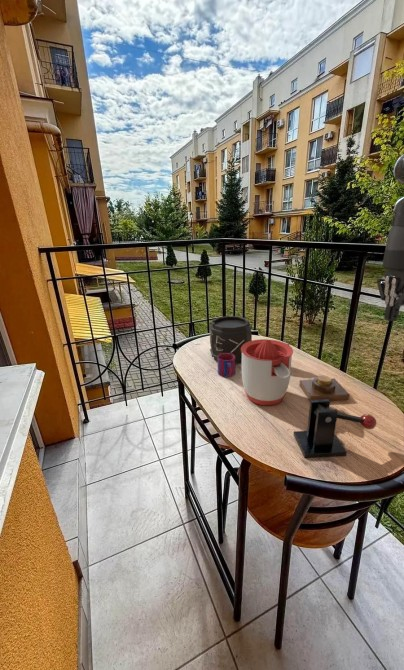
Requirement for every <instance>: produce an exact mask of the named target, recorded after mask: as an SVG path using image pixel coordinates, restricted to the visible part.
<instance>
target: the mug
mask: <svg viewBox="0 0 404 670" xmlns="http://www.w3.org/2000/svg"><path fill="white" fill-rule="evenodd" d="M216 362H217V374H218V375H219V376H220V377H223V378H229V377H233V376H234V375H236V364H235V355H233V354H231V353H222V354H219V355H218V356H217V361H216Z"/></svg>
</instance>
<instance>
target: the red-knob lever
mask: <svg viewBox="0 0 404 670" xmlns="http://www.w3.org/2000/svg"><path fill="white" fill-rule="evenodd" d="M330 409H331V408H330V406H329V407H328V406H324V405H319V404H318V405H317V407H316V409H315V411H314V413H315V415H316V416H317V410H330ZM337 419H340V420H344V421H349V422H354V423H357V424H360V426H361V427H362V428H363V429H365V430H373V429H375V428H376V427H377V419H376V418H375V416H373V415H372V414H369V413H364V414H362V415H361V416H357V415H353V414H347V413H343V412H339V411H338V414H337Z"/></svg>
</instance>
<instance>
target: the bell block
mask: <svg viewBox="0 0 404 670" xmlns="http://www.w3.org/2000/svg"><path fill="white" fill-rule="evenodd" d="M330 378H331V385H329V386H323V385H320V384H318V383H317V381H318V376H316V377H314V378H313V379H312V378H311V379H300V380H299V387H300V389H301V390H302V392H303V393H304V395H305V396H306V398H307V399H308V401H309V402H310V401H311V400H324V399H328V400H329V401H330V402H340V401H341V402H342V401H343V402H344V401H350V393H349V392H348V391H347V389H345V388H344V386H342V385H341V384H340V382H338V380H336V378H332V377H330Z"/></svg>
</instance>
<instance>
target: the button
mask: <svg viewBox="0 0 404 670" xmlns="http://www.w3.org/2000/svg"><path fill="white" fill-rule="evenodd" d="M317 377H318V381H317V383H318V384H320V385H323V386H329V385H331V378H332V377H330V376H328V375H325V374H323V375H319V376H317Z"/></svg>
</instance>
